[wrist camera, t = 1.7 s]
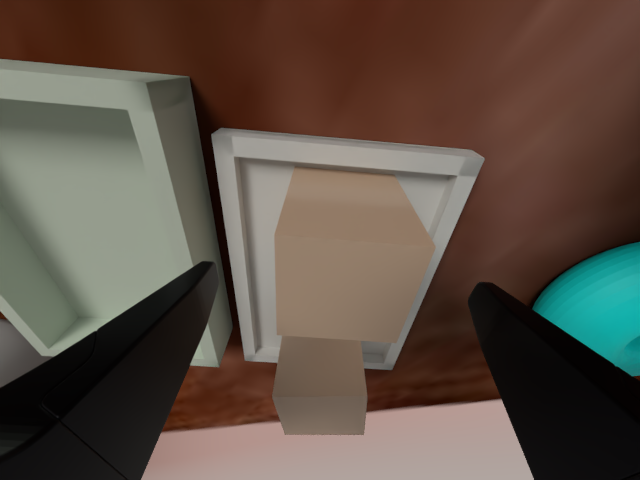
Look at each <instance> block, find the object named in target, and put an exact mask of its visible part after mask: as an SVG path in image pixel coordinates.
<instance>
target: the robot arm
mask: <svg viewBox="0 0 640 480" xmlns="http://www.w3.org/2000/svg"><path fill="white" fill-rule="evenodd" d="M218 286H219V277H218V271H217V266H216V263H215V262H213V261H201V262H200V263H198V264H196V265H195V266H193V267H192V268H190V269H189V270H187V271H186V272H184V273H183V274H181V275H180V276H178V277H176V278H175V279H173V280H172V281H170V282H169V283H167V284H166V285H164V286H163V287H161V288H160V289H158V290H157V291H155V292H153V293H152V294H150V295H149V296H147V297H146V298H144V299H143V300H141V301H140V302H138V303H137V304H135V305H133V306H132V307H130V308H129V309H127V310H126V311H124V312H123V313H121V314H120V315H118V316H117V317H115V318H113V319H112V320H110V321H109V322H107V323H106V324H104V325H103V326H101V327H100V328H98V329H97V331H93V332H92V333H90V334H89V335H87V336H86V337H84V338H83V339H81V340H80V341H78V342H76V343H75V344H73V345H72V346H70V347H68V348H67V349H65V350H64V351H62V352H60V353H59V354H57V355H56V356H54V357H52V358H51V359H49V360H47V361H45V362H44V363H42V364H40V365H39V366H37V367H35V368H34V369H32V370H30V371H28V372H27V373H25V374H23V375H21V376H20V377H18V378H16V379H14V380H13V381H11V382H9V383H7V384H6V385H4V386H2V387H0V480H141V478H142V476H143V473H144V471H145V469H146V466H147V464H148V462H149V459H150V457H151V455H152V452H153V450H154V448H155V445H156V443H157V441H158V438H159V436H160V434H161V431H162V429H163V427H164V424H165V422H166V420H167V417H168V415H169V413H170V410H171V408H172V406H173V404H174V401H175V399H176V397H177V394H178V392H179V390H180V387H181V385H182V383H183V380H184V378H185V376H186V373H187V371H188V369H189V366H190V364H191V362H192V359H193V357H194V355H195V352H196V350H197V348H198V345H199V343H200V341H201V338H202V336H203V334H204V331H205V329H206V326H207V323H208V320H209V317H210V313H211V310H212V306H213V303H214V300H215V296H216V293H217V290H218ZM468 305H469V309H470V312H471V316H472V319H473V323H474V326H475V330H476V333H477V337H478V340H479V343H480V346H481V349H482V352H483V354H484V357H485V359H486V362H487V364H488V366H489V369H490V371H491V374H492V376H493V379H494V381H495V384H496V386H497V389H498V391H499V394H500V396H501V399H502V401H503V404H504V406H505V408H506V411H507V413H508V416H509V418H510V421H511V423H512V426H513V428H514V431H515V433H516V436H517V438H518V441H519V443H520V445H521V448H522V451H523V453H524V455H525V458H526V460H527V463H528V465H529V467H530V470H531V473H532V475H533V478H534V480H640V381H639V380H637V379H636V378H634V377H633V376H631V375H630V374H628V373H627V372H625V371H624V370H622V369H621V368H619V367H617V366H615V365H614V364H613V363H612V362H610V361H609V360H607V359H606V358H604V357H603V356H601V355H600V354H598V353H597V352H595V351H594V350H592V349H591V348H589V347H588V346H586V345H585V344H583V343H582V342H580V341H579V340H577V339H576V338H574V337H573V336H571V335H570V334H568V333H567V332H565V331H564V330H562V329H561V328H559V327H558V326H556V325H555V324H553V323H552V322H550V321H549V320H547V319H546V318H544V317H543V316H541V315H540V314H538V313H537V312H535V311H534V310H532V309H531V308H529V307H528V306H526V305H525V304H523V303H522V302H520V301H519V300H517V299H516V298H514V297H513V296H511V295H510V294H508V293H507V292H505V291H504V290H502V289H501V288H499V287H498V286H496V285H495V284H493V283H490V282H479V283H477V285H476V286H475V288H474V290H473V291H472V293H471V295H470V296H469V299H468Z"/></svg>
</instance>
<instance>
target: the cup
mask: <svg viewBox="0 0 640 480" xmlns="http://www.w3.org/2000/svg"><path fill="white" fill-rule="evenodd" d="M52 357H53V356H41V354H40V353H39V352H38V351H37V350H36V349H35V348H34V347H33V346H32V345H31V344H30V343H29V342H28V340H27V339H26V338H25V337H24V336H23V335H22V334H21V333H20V332H19V331H18V330H17V329H16V327H15V326H14V325H13V324H12V323H11V322H10V321H8V320H4V319H0V387H2V386H4V385H6V384H7V383H9V382H11V381H13V380H14V379H16V378H18V377H20V376H21V375H23V374H25V373H27V372H28V371H30V370H32V369H34V368H35V367H37V366H39V365H40V364H42V363H44V362H45V361H47V360H49V359H51V358H52Z"/></svg>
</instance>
